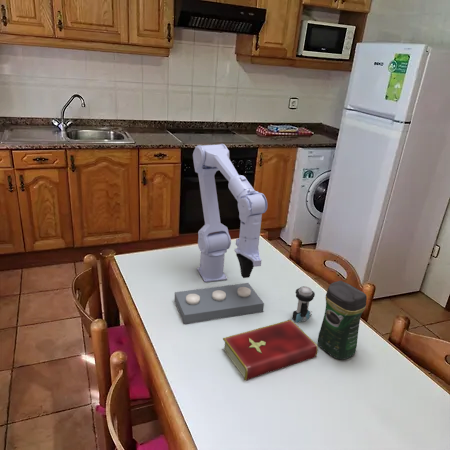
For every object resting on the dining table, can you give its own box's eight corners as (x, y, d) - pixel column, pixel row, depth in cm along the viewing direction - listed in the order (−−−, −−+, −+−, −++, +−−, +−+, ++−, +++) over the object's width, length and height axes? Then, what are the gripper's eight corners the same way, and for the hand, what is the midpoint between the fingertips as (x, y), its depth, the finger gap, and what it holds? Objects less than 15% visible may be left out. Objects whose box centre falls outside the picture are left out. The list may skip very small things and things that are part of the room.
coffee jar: (360, 354, 106) (374, 293, 99) (339, 364, 101) (353, 301, 94) (332, 333, 113) (344, 275, 106) (311, 342, 109) (322, 282, 102)
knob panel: (174, 300, 123) (174, 292, 122) (247, 290, 131) (248, 282, 130) (184, 324, 112) (184, 315, 111) (263, 311, 120) (264, 303, 119)
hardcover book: (316, 358, 104) (318, 345, 102) (245, 382, 94) (246, 368, 93) (289, 331, 113) (291, 318, 112) (221, 350, 104) (223, 337, 102)
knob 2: (234, 296, 125) (235, 287, 124) (246, 295, 126) (247, 286, 125) (239, 303, 121) (240, 294, 120) (251, 302, 123) (252, 293, 122)
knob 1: (184, 303, 120) (184, 294, 118) (197, 302, 121) (197, 292, 120) (187, 311, 116) (188, 302, 115) (201, 309, 117) (201, 300, 116)
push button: (305, 311, 122) (310, 282, 119) (317, 320, 118) (322, 291, 114) (287, 316, 119) (292, 287, 115) (299, 326, 115) (304, 296, 111)
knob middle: (210, 300, 122) (210, 291, 121) (222, 298, 124) (223, 289, 122) (214, 307, 119) (214, 298, 118) (227, 305, 120) (227, 296, 119)
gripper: (227, 226, 121) (224, 266, 126) (246, 247, 108) (242, 291, 113) (249, 224, 123) (245, 264, 128) (270, 244, 110) (264, 287, 116)
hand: (245, 276), depth 121 cm, fingers closed
